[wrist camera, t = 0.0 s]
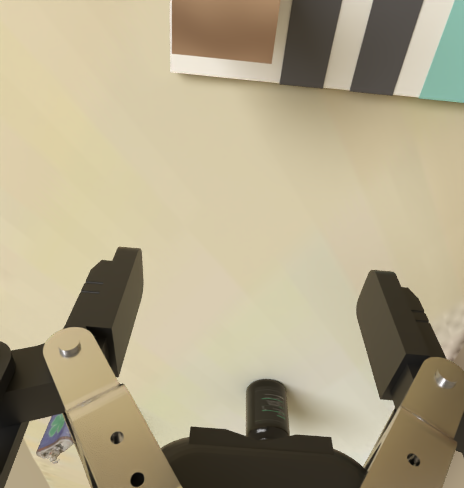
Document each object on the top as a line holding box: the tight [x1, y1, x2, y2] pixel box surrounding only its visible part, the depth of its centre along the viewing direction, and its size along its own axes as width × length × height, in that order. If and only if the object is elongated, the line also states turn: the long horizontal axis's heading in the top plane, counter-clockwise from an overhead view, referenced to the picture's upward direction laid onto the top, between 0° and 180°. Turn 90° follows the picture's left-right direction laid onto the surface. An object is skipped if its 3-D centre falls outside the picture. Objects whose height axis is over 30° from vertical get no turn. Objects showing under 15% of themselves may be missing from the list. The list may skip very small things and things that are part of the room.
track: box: [170, 0, 464, 103], centre depth 32 cm, size 14×32×4 cm, turn 85°
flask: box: [36, 414, 74, 464], centre depth 69 cm, size 9×3×11 cm, turn 132°
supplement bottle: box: [246, 379, 290, 441], centre depth 65 cm, size 7×7×12 cm
